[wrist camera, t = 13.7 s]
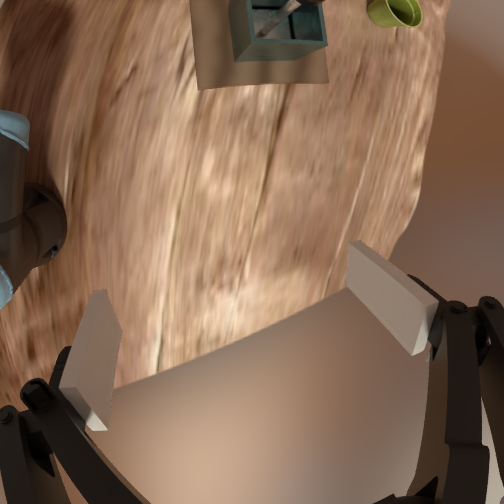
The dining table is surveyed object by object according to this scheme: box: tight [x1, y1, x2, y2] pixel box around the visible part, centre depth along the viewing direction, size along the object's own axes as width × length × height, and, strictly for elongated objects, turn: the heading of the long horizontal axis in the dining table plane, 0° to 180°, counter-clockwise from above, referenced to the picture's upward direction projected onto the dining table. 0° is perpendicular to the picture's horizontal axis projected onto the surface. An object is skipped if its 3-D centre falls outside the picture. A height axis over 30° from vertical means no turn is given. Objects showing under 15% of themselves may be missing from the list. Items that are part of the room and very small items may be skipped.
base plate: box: [190, 0, 329, 90], centre depth 39 cm, size 22×18×2 cm
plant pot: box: [367, 0, 423, 28], centre depth 37 cm, size 9×9×9 cm
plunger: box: [252, 0, 325, 39], centre depth 28 cm, size 8×8×20 cm
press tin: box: [228, 0, 328, 62], centre depth 33 cm, size 10×10×12 cm
